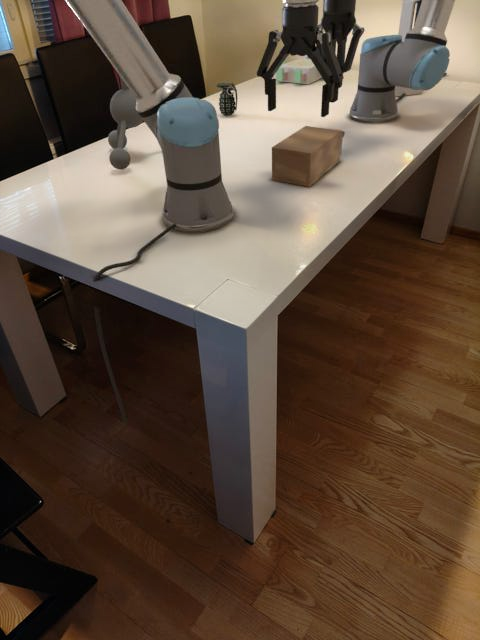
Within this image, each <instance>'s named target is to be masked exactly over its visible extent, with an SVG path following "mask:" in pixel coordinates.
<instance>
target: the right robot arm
mask: <svg viewBox="0 0 480 640" xmlns="http://www.w3.org/2000/svg"><path fill="white" fill-rule="evenodd" d="M455 2H456V0H422V3H421V6H420V9H419V12H418V16H417V19H416V22H415V21H414V22H415V25H414V24H413V27H412V29H411V30H410V31H409V32H407V33H406V37H405V40H404V42H402V36H401V35H398V34H388V35H380V36H374V37H370V38H366V39H365V40H363V42H362V44H361V49H360V54H359V65H358V67H359V68H358V78H357V79H358V80H357V90H356V94H355V96H354V98H353V101H352V104H351V106H350V108H349V115H348V117H349V118H350V119H352V120H354V121H356V122H360V123H370V124H376V123H378V124H379V123H380V124H381V123H388V122H391V121H394V120H396V119H397V118H398V112H399V111H398V104H397V103H398V102H399V101H400V100H401V99H403V98H404V97H405V96H407V95H406V94H405V93H404V94H403V95H401V96H398V98H397V97H395V86H400V87H405V88H410V89H413V90H422V91H428V90H432V89H433V88H434V87H435V86H436V85H438V84H439V83H440V82H441V80H442V79H443V78H444V76H446V75H448V73H447V71H448V67H449V65H450V56H451V53H450V49H449V48H448V47H447V43H448V38H447V36H446V34H445V32H446V29H447V27H448V23H449V21H450V18H451V15H452V12H453V9H454V5H455V4H456V3H455ZM356 5H357V0H323V3H322V17H321V20H320V23H318V26H317V31H318V34H321V33H326V32H329V31H330V32H331V33H332V45H333V48H334V50H335V53H336V56H337V59H338V62H339V65H340V68H341V71H342V74H343V75H344V73H347V72H350V71H351V69H352V66H353V62H354V60H355V57H356V56H355V55H356V52H357V49H358V46H359V43H360V39H361V38H362V35H364V33H365V28H364V27H361V26H359V24H357V19H356V16H355V14H356ZM350 33H351V35H352V37H351V40H350V43H349V46H348V49H347V48H346V47H347V41H348V36H349V35H350ZM315 45H316V47H317V48H318V50H319V53H320V55H321V57H322V58H323V60H324V62H325V63H326V65H327V66H328V68H329V65H328V62H327V59H326V56H325V53H324V51H323V47H322V45H321V44H320V41H319V40H318V41H317V43H316V44H315ZM346 49H347V53H346ZM329 69H330V68H329ZM330 71H331V70H330ZM343 80H344V79H343ZM343 80H341V81H340V82H338V83H335V85H334V97H333V99H332V100H331V101H330V102H329V103H333V104H334V103H336V102H337V101H338V100H339V89H341V88H342V86H343V82H344V81H343Z"/></svg>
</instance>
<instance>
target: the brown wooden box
mask: <svg viewBox="0 0 480 640" xmlns="http://www.w3.org/2000/svg"><path fill="white" fill-rule="evenodd" d="M342 131H343V130H340V129H334V128H333V129H332V128H324V127H318V126H309V125H304V126H303V127H301V128H300V129H298V130H297V131H295V132H294V133H292V134H290V135H289V136H287V137H286V138H284V139H282V140H281V141H279V142H278V143H276V144H275V145H273V146H271V180H272V181H276V182H282V183H286V184H287V183H288V184H293V185H297V186H302V187H308V188H309V187H311V186H312V185H313V184H315V183H316V182H317V181H318V180H319V179H321V178H322V177H323V176H324V175H325V174H327V173H328V172H329V171H330V170H331V169H332V168H334V167H335V166H336V165H337V164H339V163H340V160H341V156H340V149H341V137H342ZM341 150H342V149H341Z"/></svg>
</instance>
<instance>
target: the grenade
mask: <svg viewBox="0 0 480 640" xmlns="http://www.w3.org/2000/svg"><path fill="white" fill-rule="evenodd" d="M215 87H217V88H219V89H221V93H219V97H218V101H219V102H218V106H219V108H218V109H219V112H220V114H221V115H222V116H224V117H231V116H233V115H234V113H235V112H236V111H237V108H238V89H237V87H236V85H235V84H234V83H233V82H218V83H217V84H216V86H215ZM232 91H233V92H232ZM234 94H235V96H234Z"/></svg>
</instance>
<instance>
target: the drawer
mask: <svg viewBox="0 0 480 640" xmlns="http://www.w3.org/2000/svg"><path fill="white" fill-rule="evenodd" d="M344 137H345V131H343V130H342V137H341V149H340V157H341V156H342V148H343V138H344Z"/></svg>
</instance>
